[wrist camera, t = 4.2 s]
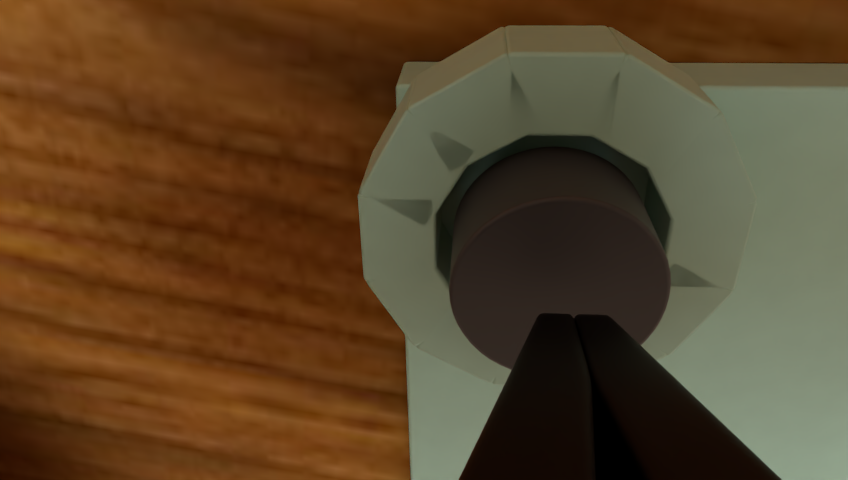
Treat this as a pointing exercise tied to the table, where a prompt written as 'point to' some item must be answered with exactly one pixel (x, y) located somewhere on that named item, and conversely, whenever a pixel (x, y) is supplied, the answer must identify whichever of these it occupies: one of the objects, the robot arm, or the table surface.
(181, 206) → the table surface
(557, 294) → the dark brown cylinder
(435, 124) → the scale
